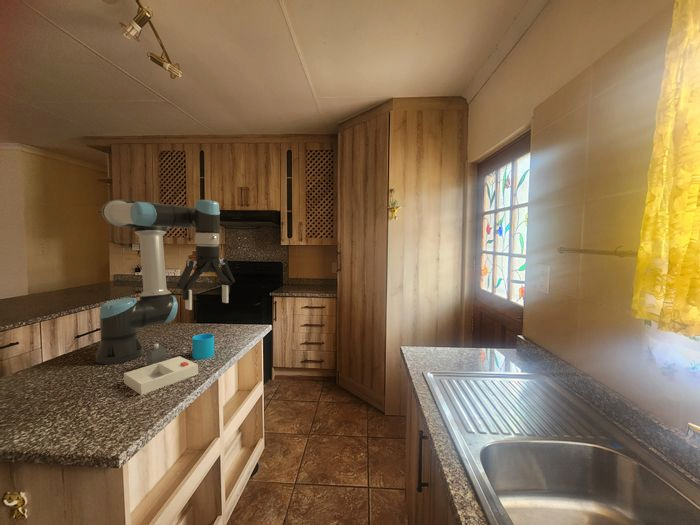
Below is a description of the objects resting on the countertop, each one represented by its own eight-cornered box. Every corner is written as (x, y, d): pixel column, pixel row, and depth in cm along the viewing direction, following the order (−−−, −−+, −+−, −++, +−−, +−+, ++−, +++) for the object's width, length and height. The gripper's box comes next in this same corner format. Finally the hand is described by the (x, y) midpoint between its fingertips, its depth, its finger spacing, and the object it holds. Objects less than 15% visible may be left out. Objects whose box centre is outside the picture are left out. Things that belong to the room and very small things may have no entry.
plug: (146, 367, 110) (145, 344, 109) (160, 363, 114) (159, 341, 113) (152, 371, 107) (151, 347, 106) (166, 366, 111) (165, 343, 110)
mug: (210, 359, 119) (210, 339, 118) (189, 359, 118) (189, 340, 117) (219, 348, 131) (219, 330, 130) (200, 348, 130) (199, 330, 129)
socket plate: (124, 383, 98) (123, 371, 97) (179, 365, 113) (179, 354, 112) (141, 395, 91) (141, 382, 90) (198, 374, 106) (198, 362, 105)
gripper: (176, 246, 89) (176, 314, 90) (244, 245, 110) (244, 301, 111) (163, 245, 93) (164, 310, 95) (232, 245, 114) (232, 298, 115)
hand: (207, 305), depth 103 cm, fingers open, 13 cm apart
